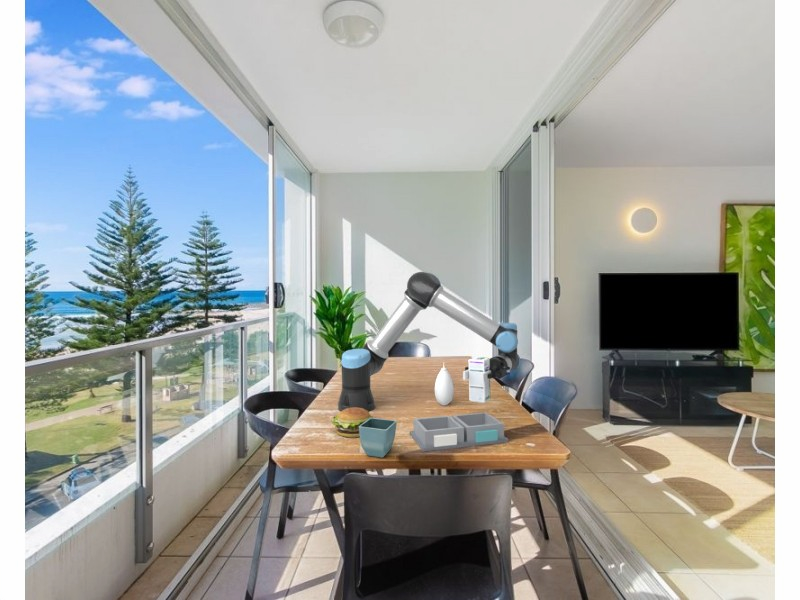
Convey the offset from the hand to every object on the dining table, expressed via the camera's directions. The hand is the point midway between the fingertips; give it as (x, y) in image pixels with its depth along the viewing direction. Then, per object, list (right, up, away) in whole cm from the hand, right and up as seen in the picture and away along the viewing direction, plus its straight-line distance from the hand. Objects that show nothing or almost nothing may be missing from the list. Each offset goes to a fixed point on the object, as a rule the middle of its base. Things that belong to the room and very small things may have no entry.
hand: (473, 376), depth 131 cm
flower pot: (-31, -20, -16) cm, 40 cm away
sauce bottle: (-6, -19, +34) cm, 39 cm away
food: (-40, -20, +2) cm, 45 cm away
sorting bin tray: (-6, -19, -4) cm, 20 cm away
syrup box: (+3, -9, +4) cm, 11 cm away
